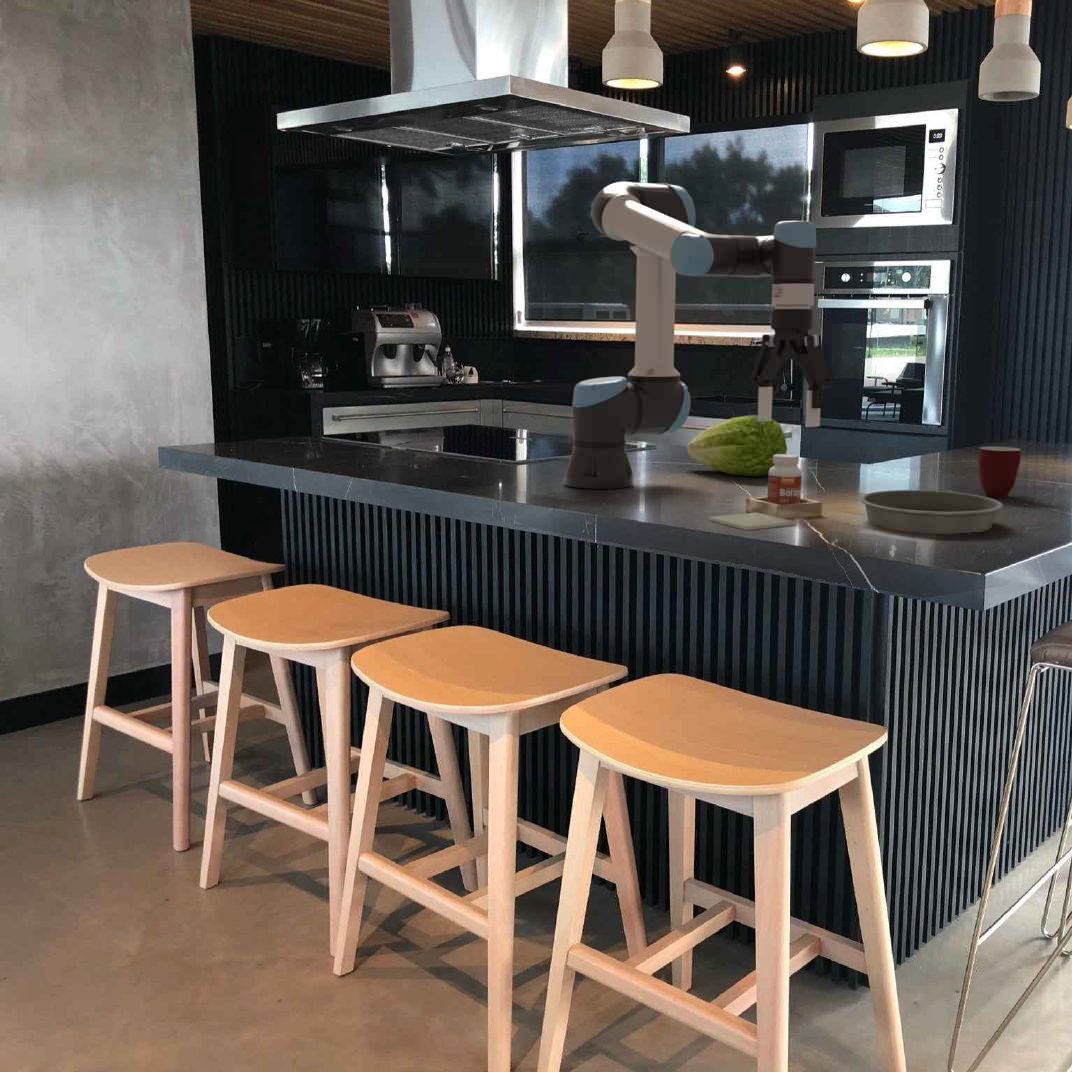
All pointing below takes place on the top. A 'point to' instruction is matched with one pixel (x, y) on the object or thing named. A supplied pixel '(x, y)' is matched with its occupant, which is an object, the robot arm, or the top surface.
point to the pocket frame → (784, 508)
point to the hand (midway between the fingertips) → (787, 423)
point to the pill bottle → (784, 480)
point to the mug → (998, 470)
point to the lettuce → (739, 446)
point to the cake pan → (930, 511)
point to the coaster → (752, 521)
